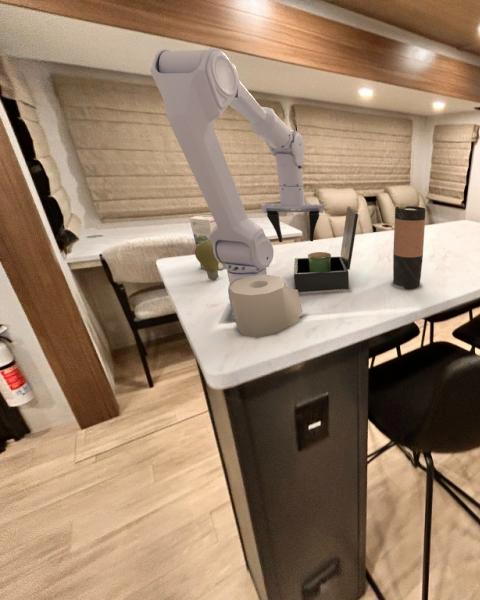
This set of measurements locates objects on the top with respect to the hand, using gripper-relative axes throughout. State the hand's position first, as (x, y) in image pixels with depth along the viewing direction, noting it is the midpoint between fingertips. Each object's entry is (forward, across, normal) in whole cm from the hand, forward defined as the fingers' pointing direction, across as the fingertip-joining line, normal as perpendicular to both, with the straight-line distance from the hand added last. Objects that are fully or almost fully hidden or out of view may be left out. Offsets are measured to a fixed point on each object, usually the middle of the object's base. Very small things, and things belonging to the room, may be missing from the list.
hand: (296, 240), depth 81 cm
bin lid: (-2, -12, +6) cm, 14 cm away
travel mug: (+10, -27, +11) cm, 31 cm away
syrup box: (+10, +23, -15) cm, 29 cm away
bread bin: (+10, -5, +6) cm, 13 cm away
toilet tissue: (+11, +6, +26) cm, 28 cm away
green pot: (+10, -5, +6) cm, 12 cm away
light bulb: (+10, +22, -3) cm, 24 cm away
